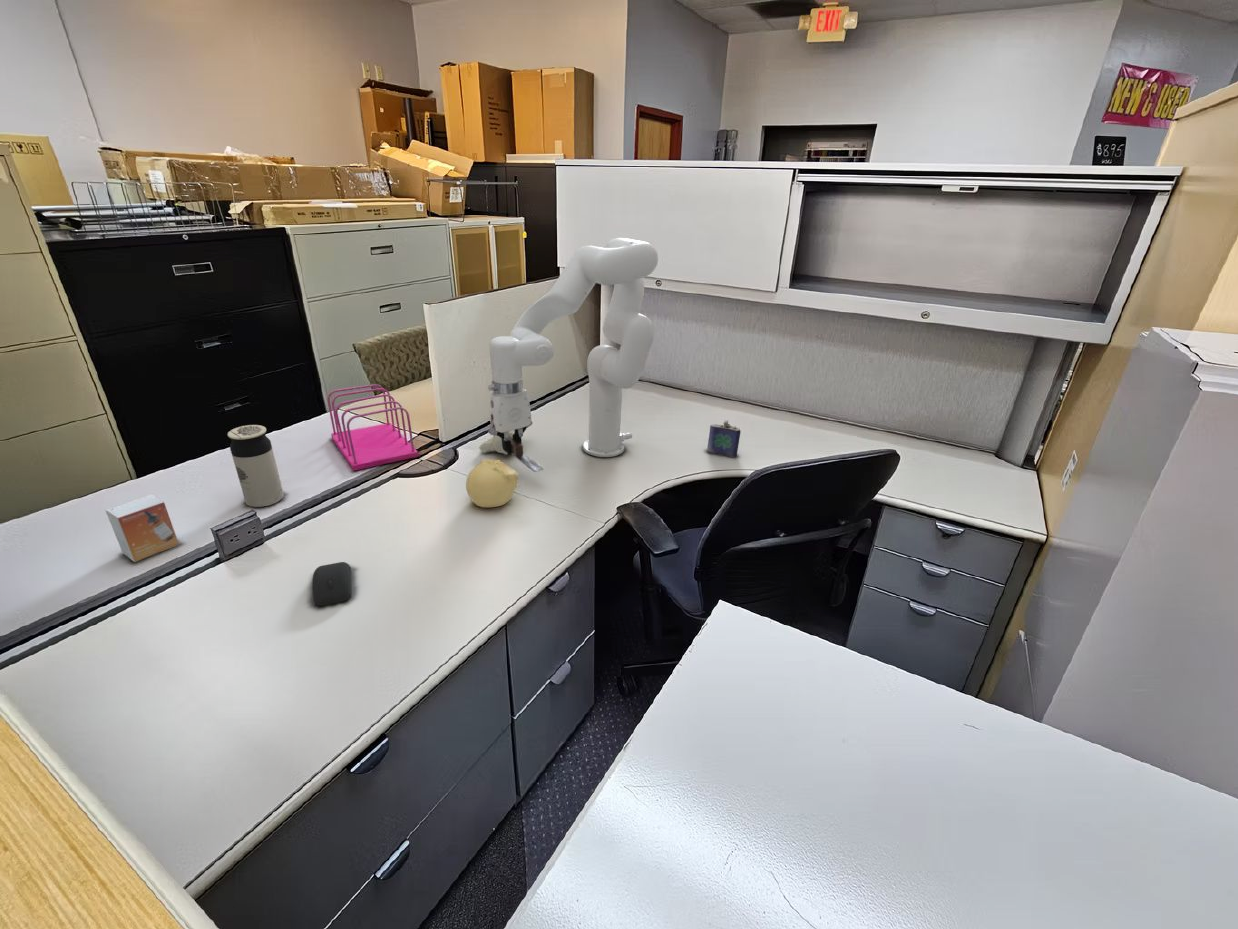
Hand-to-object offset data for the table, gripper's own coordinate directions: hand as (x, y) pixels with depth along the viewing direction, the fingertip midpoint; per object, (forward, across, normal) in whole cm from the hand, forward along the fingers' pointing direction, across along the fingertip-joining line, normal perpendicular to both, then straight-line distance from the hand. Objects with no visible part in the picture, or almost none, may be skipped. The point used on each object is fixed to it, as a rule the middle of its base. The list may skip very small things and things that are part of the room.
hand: (512, 450), depth 151 cm
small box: (+4, -79, +9) cm, 80 cm away
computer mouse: (+5, -52, -24) cm, 57 cm away
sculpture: (+7, -12, -11) cm, 18 cm away
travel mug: (+5, -57, +19) cm, 60 cm away
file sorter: (+6, -27, +35) cm, 44 cm away
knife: (0, 0, -4) cm, 4 cm away
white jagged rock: (+7, +6, +15) cm, 18 cm away
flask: (+9, +59, -23) cm, 64 cm away
